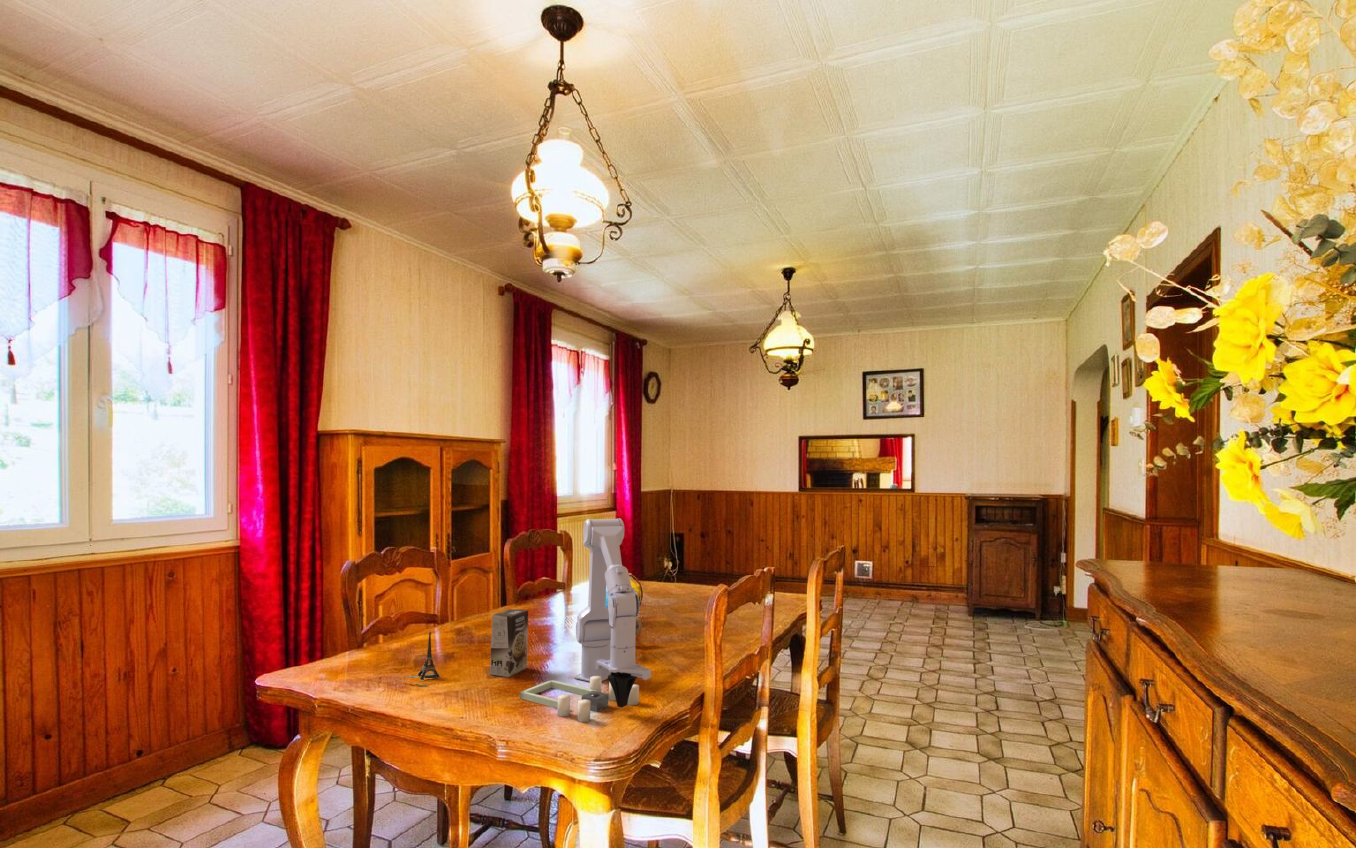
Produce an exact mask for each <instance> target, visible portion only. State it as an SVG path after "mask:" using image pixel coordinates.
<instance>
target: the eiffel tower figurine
mask: <svg viewBox="0 0 1356 848" xmlns="http://www.w3.org/2000/svg"><path fill="white" fill-rule="evenodd" d="M431 635H432V632H431V631H429V632H428V641H427V643H428V644H427V652H426V656H425V661H424V662H423V664H422V668H421V669H420V670H419V671H420V672H419V671H418V672H419V673H418V675H417V676H419V677H417V676H413V675H412V674H411V675H412V676H411V677H407V676H406V677H407V678H420V680H424V678H439V679H442V677H441V676H440V674H439V673H438V671H437V669H436V665H435V664H434V660H433V656H432V636H431ZM429 663H430V664H429ZM429 672H432V673H433V674H429ZM421 674H422V675H421ZM416 686H418V687H419V686H420V687H427V686H428V684H425V685H419V684H418V685H415V687H416Z"/></svg>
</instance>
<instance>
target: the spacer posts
mask: <svg viewBox="0 0 1356 848" xmlns="http://www.w3.org/2000/svg"><path fill="white" fill-rule="evenodd" d="M608 685H609V686H608V689H609V690H608V701H613V702H614V701H615V702H616V698H615V694H614V691H613V688H612V686H611V684H610V682H609V681H608ZM589 689H591V690H595V691H597V692H602V681H601V677H600V676H592V677H590V682H589ZM557 700H558V708H557V717H561V718H563V717H564V718H565V717H568V716H570V715H571V695H570V694H559V695H558V696H557ZM590 703H591V701H590V700H586V699H584V700H581V699H580V700H578V701H577V722H578V723H588V722H590V721H591V711H590ZM639 704H640V685H639V684H635V683H634V684H633V686H632V689H631V691H630V695H629V698H628V703H627V705H628V706H638V705H639Z"/></svg>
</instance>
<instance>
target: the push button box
mask: <svg viewBox="0 0 1356 848" xmlns="http://www.w3.org/2000/svg"><path fill="white" fill-rule="evenodd" d="M584 699H586V700H590V701H591V703H590V712H595V713H598V712H600V711H602V710H603V709H605V708H608V707H609V693H606V692H602V691H601V692H597V691H591V692H589V693H587V694H585V695H581V699H580V700H584Z"/></svg>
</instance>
